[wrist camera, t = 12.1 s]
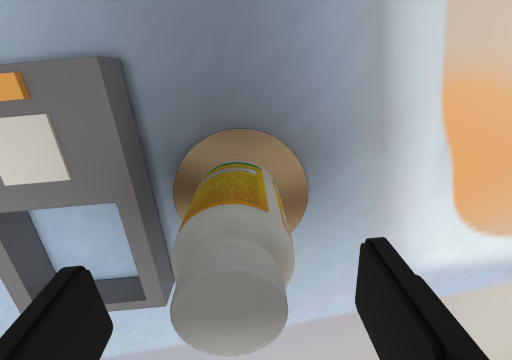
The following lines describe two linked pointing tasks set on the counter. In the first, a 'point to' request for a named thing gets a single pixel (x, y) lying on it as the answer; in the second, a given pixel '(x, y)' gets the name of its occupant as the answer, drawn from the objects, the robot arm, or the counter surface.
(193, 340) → the supplement bottle
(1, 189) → the gray rectangular fixture
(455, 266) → the counter surface
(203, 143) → the cork coaster
